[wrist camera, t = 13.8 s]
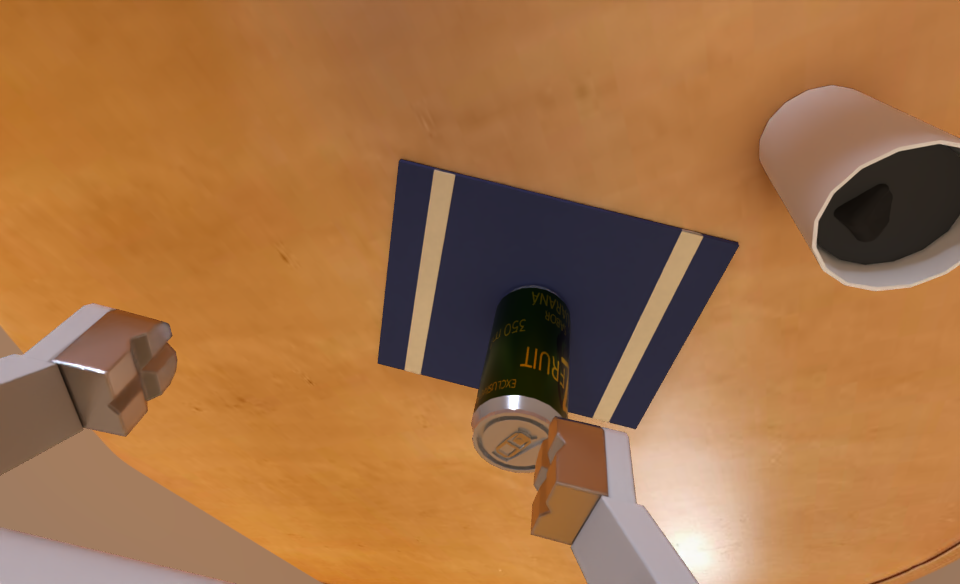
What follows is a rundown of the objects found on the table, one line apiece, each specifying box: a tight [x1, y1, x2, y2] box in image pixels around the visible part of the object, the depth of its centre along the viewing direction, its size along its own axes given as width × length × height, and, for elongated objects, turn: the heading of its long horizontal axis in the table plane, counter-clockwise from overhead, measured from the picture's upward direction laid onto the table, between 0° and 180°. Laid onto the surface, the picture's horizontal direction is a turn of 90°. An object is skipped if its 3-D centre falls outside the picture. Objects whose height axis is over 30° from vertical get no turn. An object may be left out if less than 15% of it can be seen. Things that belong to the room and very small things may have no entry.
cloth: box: [378, 159, 739, 429], centre depth 39 cm, size 22×18×1 cm
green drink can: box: [471, 285, 571, 473], centre depth 34 cm, size 5×5×12 cm
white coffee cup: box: [759, 85, 960, 291], centre depth 25 cm, size 7×7×10 cm
